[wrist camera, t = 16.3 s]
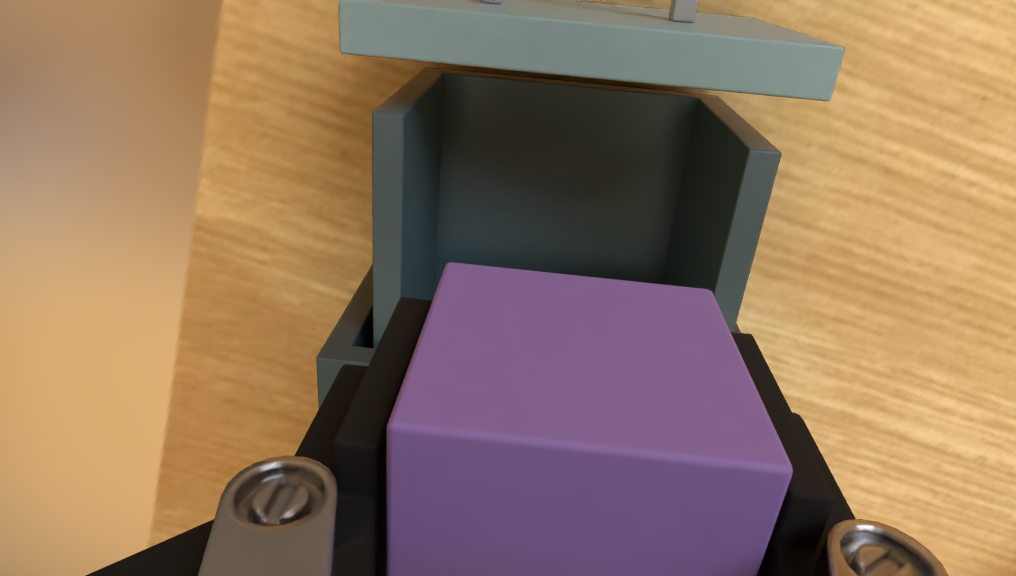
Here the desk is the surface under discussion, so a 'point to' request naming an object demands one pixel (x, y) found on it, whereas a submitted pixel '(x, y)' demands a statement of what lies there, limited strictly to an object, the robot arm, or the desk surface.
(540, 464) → the purple rounded cube
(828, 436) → the desk surface
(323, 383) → the drawer cabinet
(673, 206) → the pull-out drawer
